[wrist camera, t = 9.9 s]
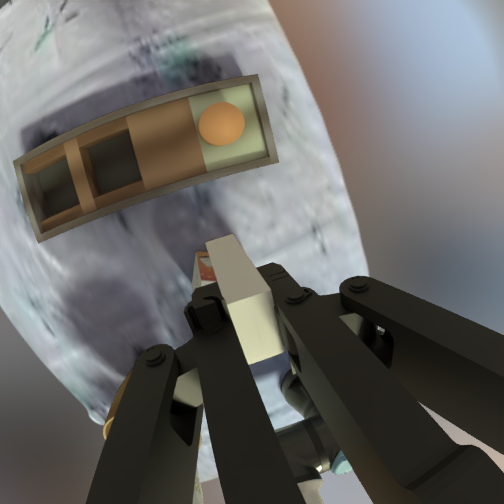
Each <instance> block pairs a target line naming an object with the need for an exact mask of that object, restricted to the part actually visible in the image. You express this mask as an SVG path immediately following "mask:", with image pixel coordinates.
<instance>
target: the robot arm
mask: <svg viewBox="0 0 504 504" xmlns="http://www.w3.org/2000/svg"><path fill="white" fill-rule="evenodd" d="M205 244H206V247H207V250H208V253H209V257H210V260H211V263H212V266H213V269H214V272H215V275H216V279H217V282H214V283H211V284H208V285H204V286H201V287H198V288H195V290H194V292H193V294H192V301H191V302H189V303H188V304H187V306H186V307H185V309H184V314H185V316H186V319H187V321H188V323H189V326H190V328H191V330H192V332H193V337H192V339H191V340H190V341H188V342H187V343H186V344H184V345H183V346H181V347H179V348H177V349H176V350H173V348H172V347H171V346H169V345H166V344H159V345H155V346H152V347H150V348H148V349H146V350H145V351H144V352H142V353H141V354H140V355H139V357H138V359H137V360H136V363H135V365H134V367H133V370H132V372H131V375H130V377H129V380H128V382H127V385H126V387H125V390H124V392H123V395H122V398H121V400H120V403H119V405H118V408H117V411H116V413H115V416H114V419H113V421H112V424H111V427H110V430H109V433H108V435H107V438H106V441H105V444H104V447H103V450H102V453H101V456H100V459H99V462H98V465H97V468H96V471H95V475H94V478H93V481H92V484H91V488H90V491H89V494H88V498H87V501H86V504H193V495H194V485H195V476H196V467H197V458H198V449H199V441H200V433H201V424H202V417H203V409H205V414H206V419H207V424H208V430H209V435H210V439H211V444H212V449H213V454H214V458H215V462H216V467H217V471H218V475H219V479H220V484H221V487H222V491H223V496H224V499H225V503H226V504H324V503H323V501H322V499H321V497H320V495H319V489H320V487H321V485H322V483H323V480H322V478H321V476H320V474H321V473H324V472H326V471H329V470H331V471H332V472H333V473H335V474H336V475H342V474H343V473H348V472H350V471H352V470H354V472H355V474H356V475H357V477H358V479H359V481H360V482H361V484H362V485H363V487H364V489H365V490H366V492H367V494H368V495H369V497H370V499H371V500H372V502H373V504H504V473H503V471H501V469H500V468H499V467H498V466H497V465H496V464H495V462H494V461H493V460H492V459H491V458H490V457H489V456H488V455H487V454H486V453H485V452H484V451H483V450H481V449H480V448H479V447H476V446H474V445H459V444H456V443H455V442H454V441H453V440H452V439H451V438H450V437H449V436H448V435H447V434H446V432H445V431H444V430H443V429H442V428H441V427H440V426H439V425H438V423H437V422H436V421H435V420H434V419H433V418H432V417H431V416H430V415H429V413H428V412H427V411H426V410H425V409H424V408H423V407H422V406H421V404H423V405H424V406H426V407H428V408H429V409H431V410H432V411H434V412H435V413H437V414H438V415H440V416H441V417H443V418H445V419H446V420H448V421H449V422H451V423H452V424H454V425H456V426H457V427H459V428H460V429H462V430H463V431H465V432H467V433H468V434H470V435H471V436H473V437H475V438H476V439H478V440H480V441H481V442H483V443H484V444H486V445H488V446H489V447H491V448H493V449H494V450H496V451H498V452H499V453H501V454H503V455H504V335H502V334H500V333H497V332H495V331H493V330H491V329H489V328H487V327H484V326H482V325H480V324H478V323H475V322H473V321H471V320H469V319H466V318H464V317H462V316H460V315H458V314H455V313H453V312H451V311H448V310H446V309H444V308H442V307H439V306H437V305H435V304H432V303H430V302H428V301H425V300H423V299H420V298H418V297H416V296H414V295H411V294H409V293H407V292H404V291H402V290H400V289H397V288H395V287H393V286H390V285H388V284H385V283H383V282H381V281H378V280H376V279H373V278H371V277H367V276H355V277H351V278H348V279H346V280H344V281H343V282H342V283H341V284H340V287H339V291H340V293H336V294H330V295H322V296H321V295H318V294H317V293H316V292H315V291H314V290H312V289H310V288H306V287H300V285H299V284H298V283H297V282H296V281H295V280H294V279H293V278H292V277H291V276H290V275H289V273H288V272H287V271H286V270H285V269H284V268H283V267H282V266H281V265H279V264H276V263H273V262H272V263H269V264H266V265H263V266H260V267H257V268H256V267H255V266H254V264H253V263H252V262H251V260H250V259H249V257H248V256H247V254H246V253H245V251H244V250H243V248H242V247H241V245H240V244H239V242H238V241H237V240H236V238H235V237H234V235H233V234H230V235H227V236H224V237H221V238H218V239H214V240H211V241H208V242H205ZM378 326H379V327H381V328H383V329H385V332H382V331H380V330H378ZM283 343H284V344H283ZM284 345H285V346H286V348H287V350H288V354H289V358H290V363H291V368H292V369H291V370H290V371H289V372H288V373H287V375H286V376H285V378H284V380H283V382H282V387H281V389H282V393H283V395H284V397H285V400H286V401H287V402H288V404H290V405H291V406H292V407H293V408H294V409H295V410H296V411H298V412H299V413H300V414H301V415H302V416H303V417H304V418H305V419H304V420H302V421H299V422H297V423H294V424H291V425H288V426H285V427H282V428H279V429H276V430H274V428H273V426H272V423H271V421H270V418H269V416H268V414H267V411H266V409H265V406H264V404H263V401H262V399H261V396H260V393H259V391H258V388H257V386H256V383H255V381H254V378H253V375H252V373H251V370H250V368H249V365H250V364H253V363H256V362H259V361H261V360H264V359H267V358H270V357H273V356H275V355H278V354H281V353H283V352H285V348H284ZM419 402H420V403H421V404H420V403H419ZM203 403H204V406H203Z"/></svg>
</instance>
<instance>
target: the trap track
mask: <svg viewBox="0 0 504 504" xmlns="http://www.w3.org/2000/svg"><path fill="white" fill-rule="evenodd" d="M218 102H227V103H230V104H233V105H234V106H236V107H237V108H238V109H239V110H240V111H241V112H242V114H243V117H244V121H245V126H244V130H243V133H242V134H241V136H240V137H239V138H238V139H237V140H236V141H234V142H233V143H230V144H227V145H223V146H212V145H209V144H207V143H206V142H204V141H203V140H202V139H201V137H200V136H199V133H198V121H199V119H200V117H201V115H202V113H203V112H204V111H205V109H206V108H207V107H209V106H210V105H212V104H214V103H218ZM13 163H14V168H15V172H16V176H17V180H18V183H19V187H20V191H21V194H22V198H23V201H24V204H25V207H26V210H27V213H28V216H29V219H30V222H31V225H32V228H33V231H34V233H35V236H36V239H37V241H38V243H41V242H43V241H45V240H47V239H50V238H52V237H54V236H56V235H59V234H61V233H63V232H66V231H68V230H70V229H73V228H75V227H78V226H80V225H83V224H85V223H88V222H90V221H93V220H95V219H98V218H100V217H103V216H105V215H108V214H111V213H113V212H116V211H119V210H121V209H124V208H127V207H130V206H133V205H135V204H138V203H141V202H144V201H147V200H150V199H153V198H156V197H159V196H162V195H165V194H168V193H171V192H174V191H177V190H180V189H184V188H187V187H190V186H193V185H197V184H200V183H203V182H207V181H210V180H214V179H217V178H221V177H224V176H228V175H231V174H235V173H239V172H243V171H246V170H250V169H254V168H258V167H262V166H266V165H270V164H274V163H279V160H278V155H277V151H276V146H275V142H274V138H273V133H272V129H271V125H270V121H269V117H268V113H267V109H266V105H265V101H264V97H263V93H262V89H261V85H260V81H259V77H258V74H256V75H249V76H243V77H237V78H232V79H226V80H221V81H216V82H212V83H207V84H203V85H198V86H194V87H190V88H186V89H182V90H179V91H175V92H171V93H168V94H164V95H161V96H158V97H154V98H151V99H148V100H145V101H142V102H139V103H136V104H133V105H130V106H127V107H125V108H122V109H119V110H117V111H114V112H111V113H109V114H106V115H104V116H101V117H99V118H96V119H94V120H92V121H89V122H87V123H85V124H83V125H80V126H78V127H76V128H74V129H72V130H70V131H67V132H65V133H63V134H61V135H59V136H57V137H55V138H53V139H51V140H49V141H48V142H46V143H44V144H42V145H40V146H38V147H36V148H35V149H33V150H31V151H29V152H28V153H26V154H24V155H22V156H21V157H19V158H17V159H16V160H14V161H13Z"/></svg>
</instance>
